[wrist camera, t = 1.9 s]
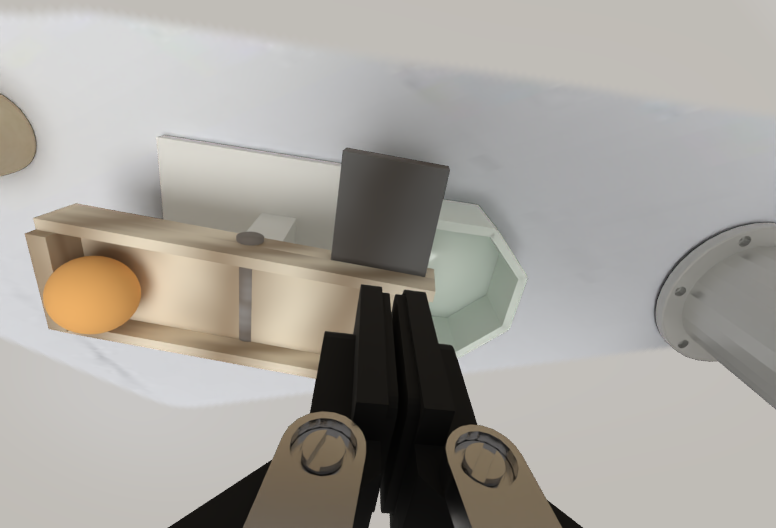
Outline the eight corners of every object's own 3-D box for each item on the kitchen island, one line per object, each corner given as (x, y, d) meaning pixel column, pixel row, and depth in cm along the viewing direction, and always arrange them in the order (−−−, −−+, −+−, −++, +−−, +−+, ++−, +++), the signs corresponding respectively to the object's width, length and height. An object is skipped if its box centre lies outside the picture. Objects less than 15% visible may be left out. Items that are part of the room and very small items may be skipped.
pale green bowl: (517, 210, 29) (543, 235, 24) (481, 324, 33) (497, 363, 29) (381, 189, 28) (382, 211, 24) (362, 309, 32) (359, 347, 28)
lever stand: (399, 172, 28) (406, 200, 21) (372, 324, 33) (372, 381, 27) (163, 134, 26) (98, 153, 20) (176, 300, 32) (128, 355, 25)
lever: (458, 166, 19) (464, 182, 16) (410, 367, 24) (408, 406, 22) (57, 93, 19) (-11, 95, 16) (96, 309, 25) (51, 340, 22)
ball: (155, 253, 21) (88, 287, 17) (161, 316, 22) (102, 359, 19) (88, 237, 21) (10, 266, 18) (99, 300, 23) (30, 338, 19)
